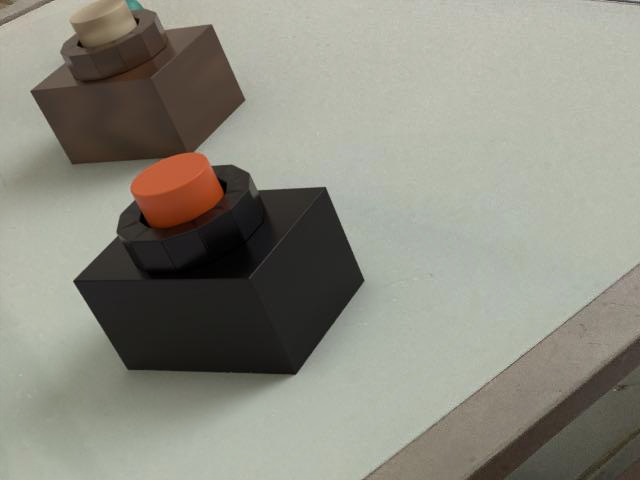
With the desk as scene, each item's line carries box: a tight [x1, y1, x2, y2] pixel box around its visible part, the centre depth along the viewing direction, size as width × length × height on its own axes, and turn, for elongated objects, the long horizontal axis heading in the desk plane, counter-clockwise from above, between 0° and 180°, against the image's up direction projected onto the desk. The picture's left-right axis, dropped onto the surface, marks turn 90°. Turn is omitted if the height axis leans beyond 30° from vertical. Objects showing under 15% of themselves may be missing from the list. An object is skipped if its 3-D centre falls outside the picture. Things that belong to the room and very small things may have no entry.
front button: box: [129, 151, 224, 228], centre depth 57 cm, size 4×4×2 cm
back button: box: [68, 0, 137, 48], centre depth 79 cm, size 4×4×2 cm
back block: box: [29, 8, 246, 165], centre depth 82 cm, size 11×8×8 cm
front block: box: [72, 163, 365, 376], centre depth 59 cm, size 11×8×8 cm
